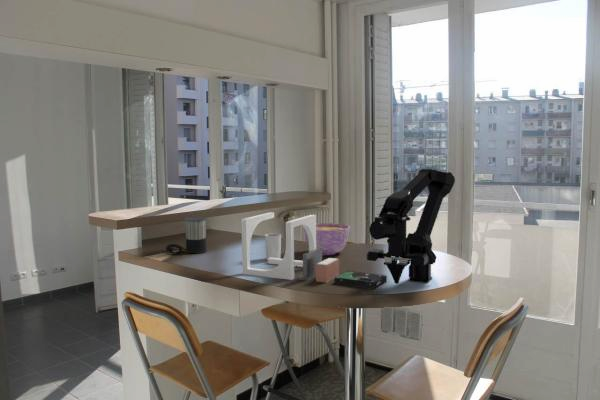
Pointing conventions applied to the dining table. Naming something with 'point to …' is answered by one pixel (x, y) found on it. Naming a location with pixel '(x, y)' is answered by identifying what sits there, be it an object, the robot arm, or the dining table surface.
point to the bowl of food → (330, 237)
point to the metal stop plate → (310, 264)
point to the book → (327, 270)
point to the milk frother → (192, 237)
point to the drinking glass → (273, 245)
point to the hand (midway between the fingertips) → (396, 283)
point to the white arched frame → (287, 263)
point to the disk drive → (360, 279)
